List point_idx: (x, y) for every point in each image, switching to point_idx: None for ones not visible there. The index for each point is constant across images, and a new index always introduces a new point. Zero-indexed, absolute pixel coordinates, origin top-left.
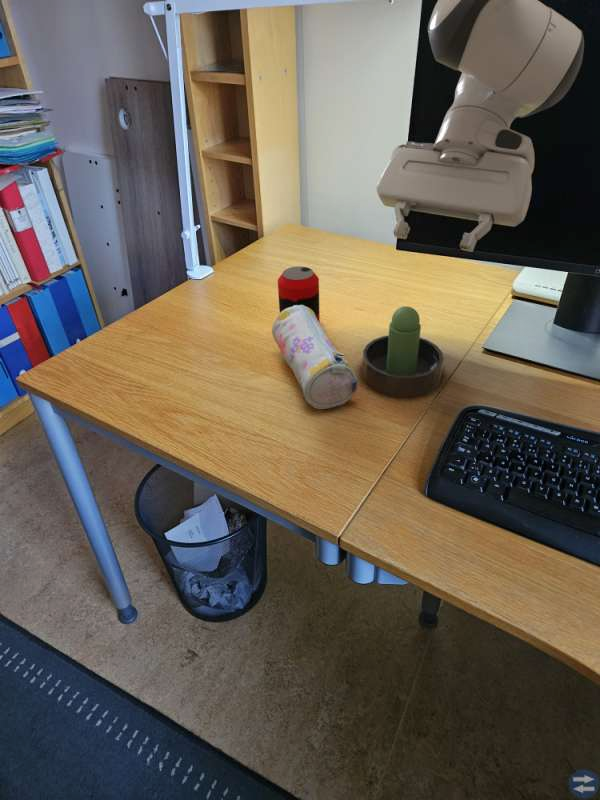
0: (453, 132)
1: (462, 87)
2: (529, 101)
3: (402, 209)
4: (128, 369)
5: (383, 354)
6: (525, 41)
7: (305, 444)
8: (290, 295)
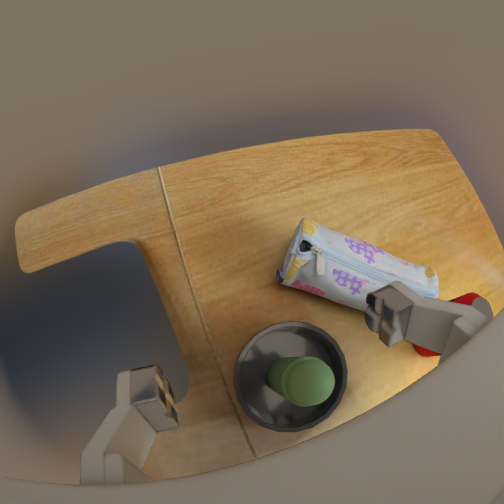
0: None
1: None
2: None
3: (453, 325)
4: (429, 171)
5: None
6: None
7: (257, 207)
8: (456, 299)
